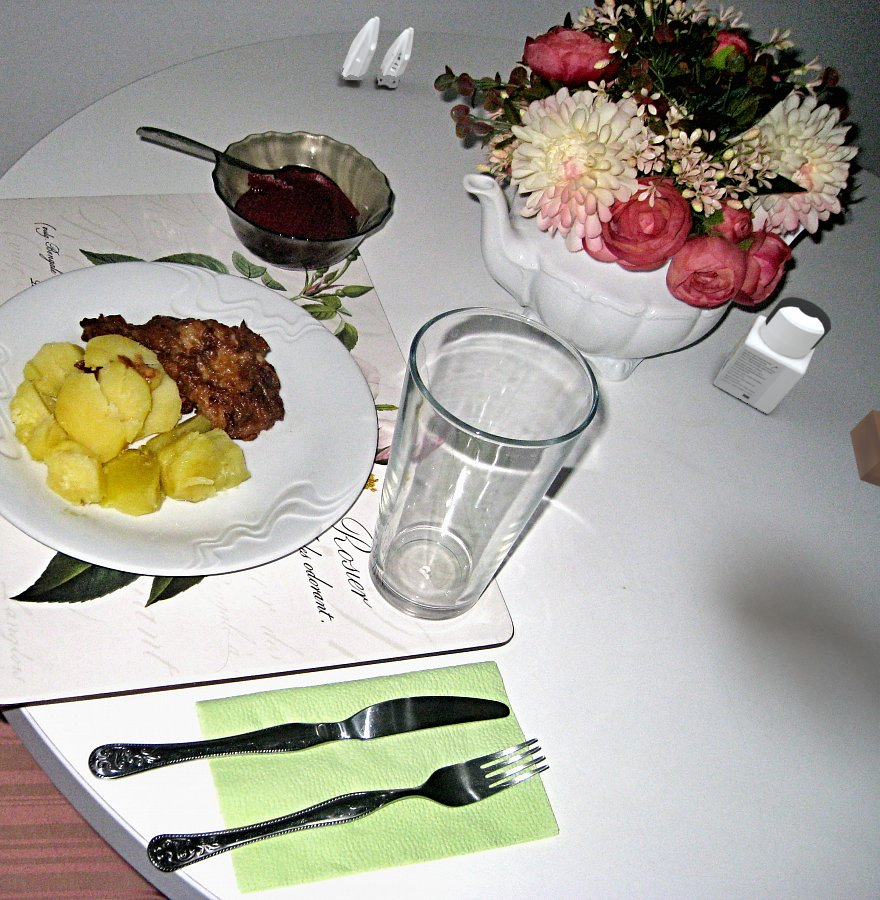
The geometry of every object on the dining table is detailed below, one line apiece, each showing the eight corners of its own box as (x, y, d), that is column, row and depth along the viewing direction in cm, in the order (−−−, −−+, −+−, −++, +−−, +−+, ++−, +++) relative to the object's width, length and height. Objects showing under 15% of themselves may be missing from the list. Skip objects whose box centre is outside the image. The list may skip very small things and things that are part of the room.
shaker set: (339, 88, 149) (356, 22, 141) (332, 75, 152) (348, 9, 144) (404, 91, 153) (424, 27, 145) (395, 79, 156) (415, 15, 147)
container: (726, 356, 121) (785, 281, 111) (780, 386, 119) (845, 312, 109) (711, 384, 116) (771, 308, 107) (767, 416, 114) (834, 341, 105)
